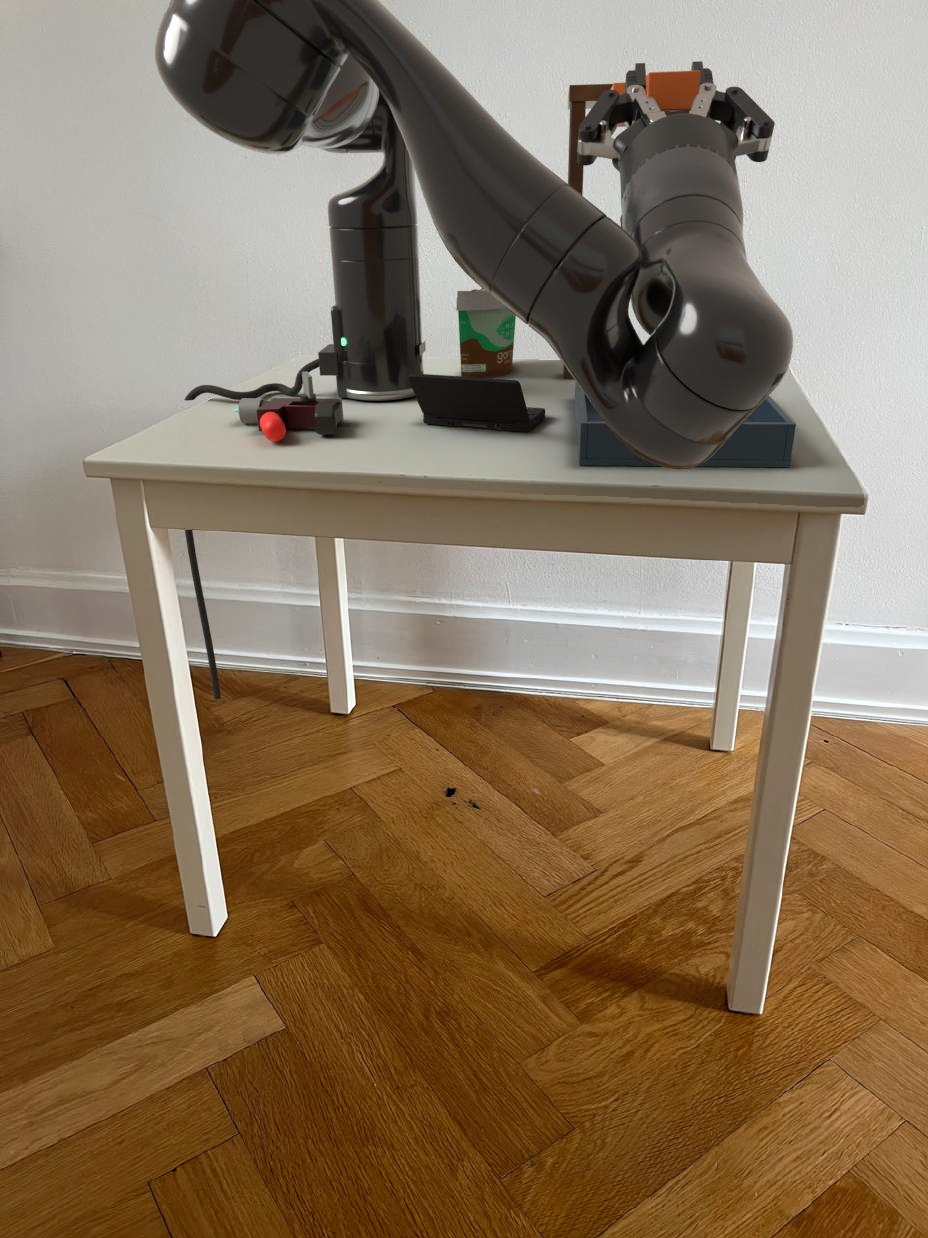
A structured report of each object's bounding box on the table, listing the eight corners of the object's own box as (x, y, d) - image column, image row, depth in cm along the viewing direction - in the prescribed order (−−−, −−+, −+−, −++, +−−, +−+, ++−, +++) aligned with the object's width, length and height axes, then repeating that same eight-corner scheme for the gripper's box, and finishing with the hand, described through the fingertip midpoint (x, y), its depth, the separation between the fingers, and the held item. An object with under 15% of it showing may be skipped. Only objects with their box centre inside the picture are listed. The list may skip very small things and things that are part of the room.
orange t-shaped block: (684, 124, 83) (687, 86, 82) (722, 108, 64) (726, 58, 63) (608, 127, 84) (609, 89, 82) (622, 111, 65) (624, 62, 63)
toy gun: (240, 418, 92) (234, 370, 90) (354, 420, 90) (350, 371, 88) (202, 444, 84) (194, 392, 81) (327, 447, 82) (322, 393, 80)
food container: (508, 382, 105) (508, 292, 100) (457, 380, 107) (455, 291, 102) (531, 362, 116) (532, 279, 111) (484, 360, 117) (484, 279, 113)
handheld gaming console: (547, 395, 91) (528, 324, 82) (545, 453, 88) (525, 386, 79) (438, 408, 94) (409, 340, 85) (432, 464, 91) (401, 401, 82)
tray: (579, 465, 75) (580, 423, 74) (574, 401, 96) (575, 367, 94) (789, 467, 74) (796, 423, 72) (739, 401, 94) (743, 366, 93)
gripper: (806, 146, 55) (773, 16, 64) (572, 151, 56) (574, 23, 66) (778, 255, 61) (752, 122, 70) (568, 258, 62) (570, 127, 72)
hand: (666, 75), depth 68 cm, fingers closed on orange t-shaped block, 3 cm apart
